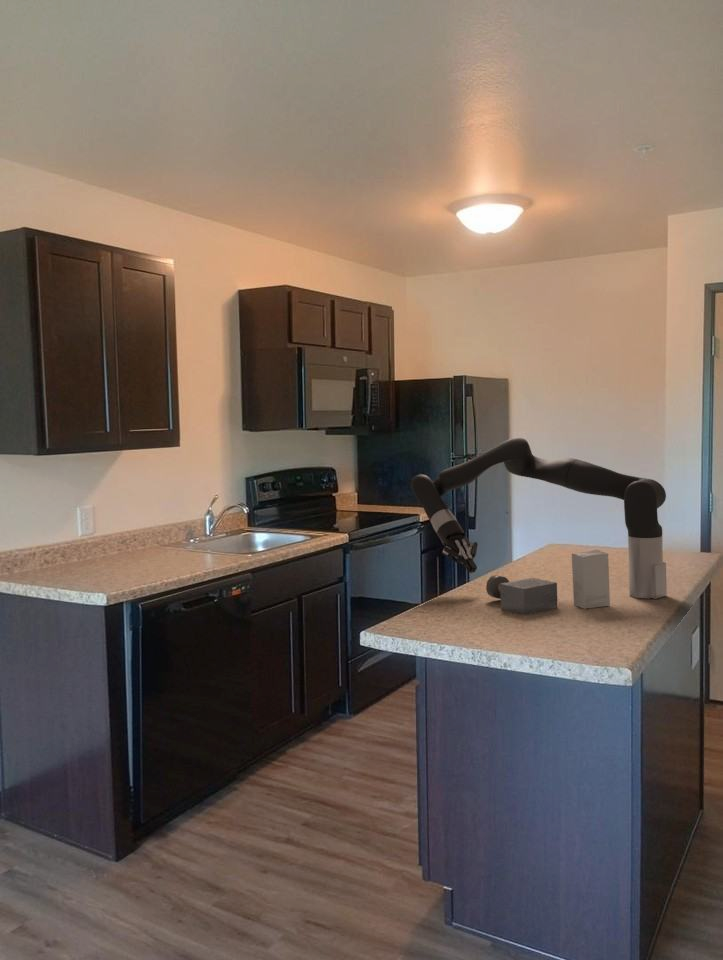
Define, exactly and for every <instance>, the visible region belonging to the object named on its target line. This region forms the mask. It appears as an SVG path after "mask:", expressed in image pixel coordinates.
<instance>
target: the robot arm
mask: <svg viewBox="0 0 723 960" xmlns="http://www.w3.org/2000/svg"><path fill="white" fill-rule="evenodd" d="M501 463H504V464H503V465H504V467H505V468H506V470H507V471H508V472H509V473H510V474H513V475H516V476H519V477H525V478H531V479H534V480H539V481H540V480H541V481H542V482H543V481H544V482H546V483H549V484H553V485H556V486H560V487H564V488H566V489H569V490H573V491H575V492H578V493H582V494H587V495H588V494H589V495H595V496H603V497H604V496H605V497H611V498H614V499H615V498H616V499H619V500H623V509H624V522H625V523H624V524H625V527H626V530H627V545H628V549H627V551H628V552H627V553H628V585H629V587H628V590H629V592H628V593H629V596H630V597H632V598H636V599H637V598H638V599H650V598H653V599H654V600H655V599H656V600H657V598H658V599H660V598H663V597H666V596H667V563H666V562H665V561H664V551H663V541H664V540H663V527H662V525H661V524H660V523H659V517H658V509H659V508H660V507H661V506H663V504H664V503H665V502H666V499H667V493H666V490H665V488H664V486H663V485H662V484H661V483H659V481H656V480H654V479H652V478H646V477H639V476H633V475H628V474H623V473H619V472H617V471H614V470H611V469H608V468H606V467H603V466H601V465H597V464H593V463H591V462H588V461H583V460H581V459H577V458H571V457H570V458H562V459H557V460H547V459H544V458H541V457H537V456H535V455H533V453H532V450H531V446H530V444H529V442H528V440H527V439H525V438H523V437H511V438H510V439H507V440H504V441H502V442H501V443H499V444H497V445H495V446H493V447H491V448H490V449H488V450H486V451H484V452H481V454H479V455H476V456H475V457H472V458H471V459H469V460H467V461H465V462H462V463H460V464H457V465H454V466H451V467H449V468H446V469H444V470H441V471H440V472H439V474H438V477H437V478H436V479H434V480H432V479H431V478H430V476H428V475H425V474H422V473H421V474H417V475H415V476H413V478H412V479H411V482H410V489H411V491H412V493H413V494H414V496H415V497H416V499H417V501H418V502H419V503H420V504H421V506H422V508H423V510H424V512H425V515H426V516H427V518H428V520H429V522H430V523H431V525H432V528H433V530H434V531H435V533H436V535H437V537H438V538H439V539H440V540H439V541H440V543H442V545H444V548H443V550H442V552H441V554H442V555H443V556H444V557H445V558H448V559H449V560H451V561H453V562H454V563H456V564H460V563H461V564H462V565H463V566H464V568H465V569H466V571H467V572H469V573H470V574H472V573H476V571H477V569H478V568H477V564H476V562H475V561H474V559H475V557H476V555H477V550H478V545H479V544H478V542H476V541H474V542H471V541H470V540H469V538H467V537H466V534H465V531H464V530H463V528H462V526H461V525H460V523H459V521H458V520H457V518H456V517H455V515H454V514H453V513H452V512H451V510H450V509H449V507H448V505H447V504H446V502H445V501H444V500H443V499H442V497H443V496H445V495H446V494H448V493H449V492H450V491H454V490H456V489H460V488H462V487H465V486H467V485H469V484H471V483H473V482H474V481H476V480H477V479H478V478H479V477H480V476H481V475H482V474H484V472H486V471H487V470H489V469H490V468H491V467H493V466H496V465H499V464H501Z"/></svg>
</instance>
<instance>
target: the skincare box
mask: <svg viewBox="0 0 723 960" xmlns="http://www.w3.org/2000/svg"><path fill="white" fill-rule="evenodd" d="M571 568H572V592H573V605H574V606H576V607H578V606H579V608H581V609H583V608H584V609H583V610H587V608H588V609H594V608H601V607H607V606H611V599H610V597H611V596H610V574H609V572H610V567H609V553H608V552H604V551H601V550H598V549H595V550H587V551H581V552H573V553H571Z"/></svg>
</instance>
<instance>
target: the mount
mask: <svg viewBox="0 0 723 960" xmlns="http://www.w3.org/2000/svg"><path fill="white" fill-rule="evenodd" d="M500 598H501V599H500V609H501V610H504V609H505V611H508V610H509V611H508V612H511V611H512V613H515V612H516V613H515V614H519V613H520V615H523V614H524V615H523V616H526V615H525V614H527V615H531V614H530V613H532V614H535V612H536V613H540V612H539V611H541V612H545V610H546V611H550V610H555V609H558V607H559V605H558V583H557V582H555V581H549V580H544V579H540V578H535V577H530V578H524V579H518V580H513V581H509V582H507V583H501V584H500ZM554 608H555V609H554ZM549 609H550V610H549Z"/></svg>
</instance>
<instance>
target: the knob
mask: <svg viewBox="0 0 723 960" xmlns="http://www.w3.org/2000/svg"><path fill="white" fill-rule="evenodd" d="M507 582H510V581H509V579H508V578H507V577H505V576H502V575H496V574H495V575H492V576H490V577H489V578H488V580H487V582H486V585H485V588H486V592H487V594H488V596H489V597H491V598H495V599H499V600H501V598H500V584H501V583H507Z"/></svg>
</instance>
